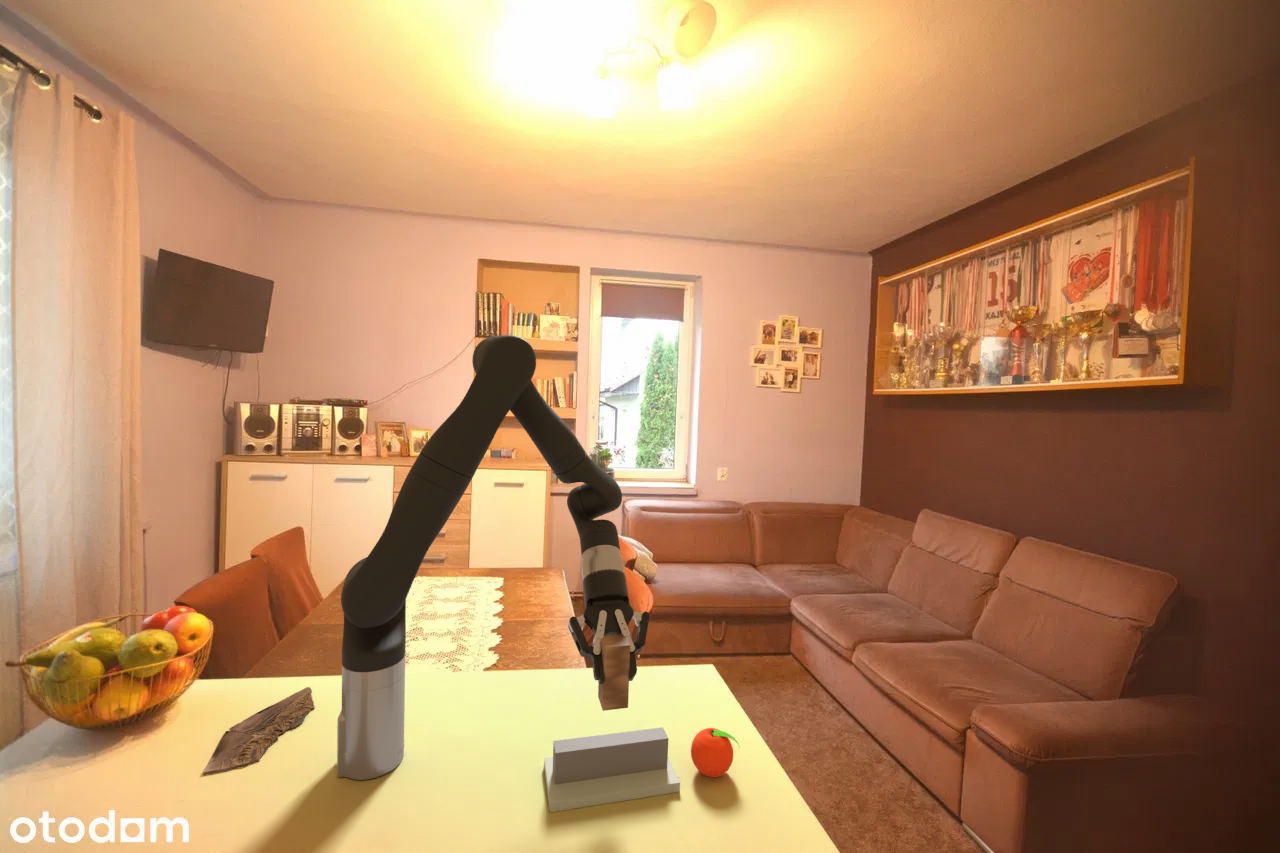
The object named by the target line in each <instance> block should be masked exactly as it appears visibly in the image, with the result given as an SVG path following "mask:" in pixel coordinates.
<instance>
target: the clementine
mask: <svg viewBox="0 0 1280 853" xmlns="http://www.w3.org/2000/svg"><path fill="white" fill-rule="evenodd" d="M730 739H731V740H733V741H735V742H736V744H737V745H738V747H739V748H738V749H741V746H740V745H739V743H738V741H737V740H736V739H735V737H733V736H732V735H731V734H730V733H728V732H726V731H723V730H720V729H718V728H715V727H708V728H704V729H702V730H700V731H699V732H697V733H696V734H695V736H694V738H693V740H692V741H691V748H690V755H691V759H692V763H693V766H694V767H695V769H697V771H699V773H701V774H702V775H704V776H707V777H709V778H717V777H721V776H723V775H725V773H727V772H728V771H729V770H730V767H731V766H732V764H733V760H734V748H733V744H732V742H731V740H730Z"/></svg>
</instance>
